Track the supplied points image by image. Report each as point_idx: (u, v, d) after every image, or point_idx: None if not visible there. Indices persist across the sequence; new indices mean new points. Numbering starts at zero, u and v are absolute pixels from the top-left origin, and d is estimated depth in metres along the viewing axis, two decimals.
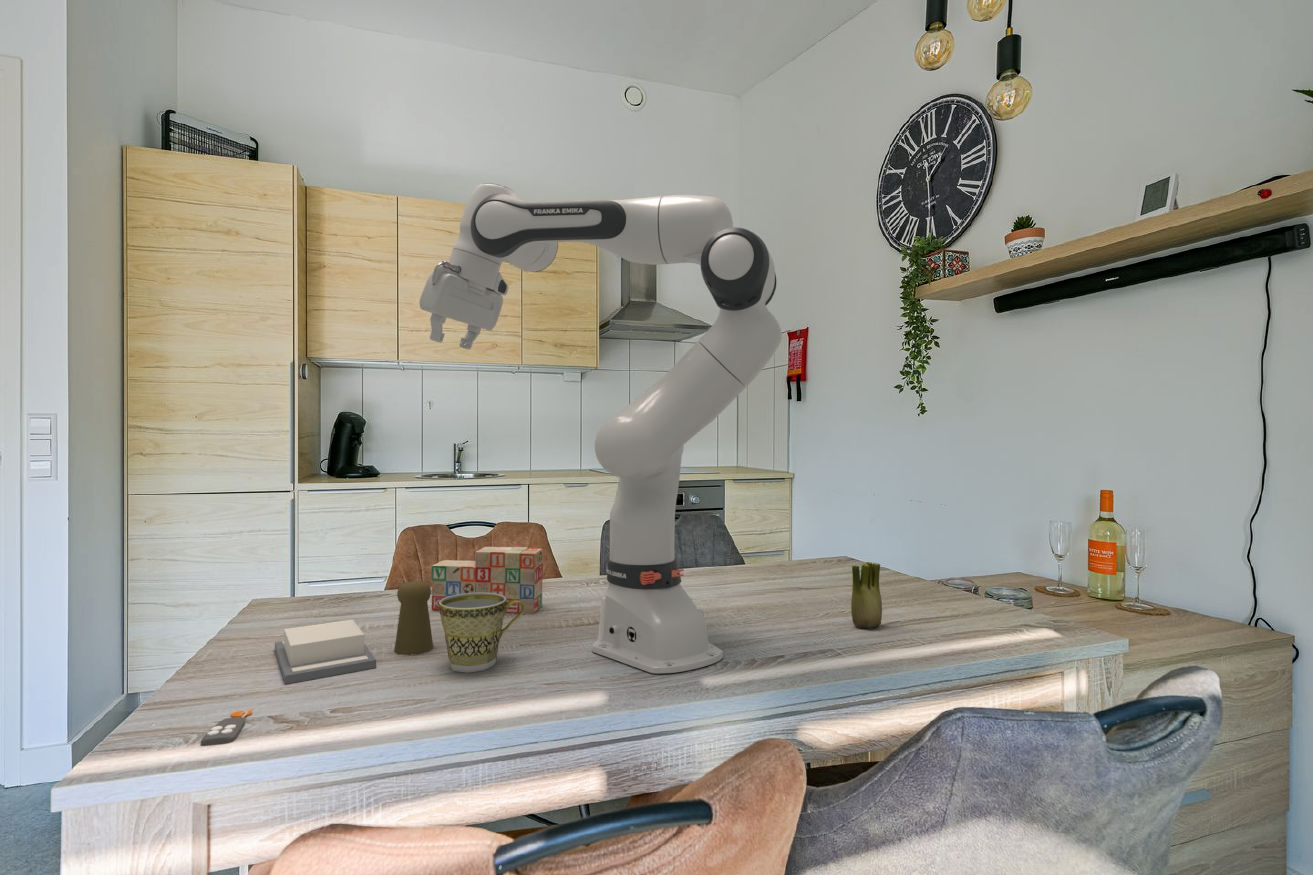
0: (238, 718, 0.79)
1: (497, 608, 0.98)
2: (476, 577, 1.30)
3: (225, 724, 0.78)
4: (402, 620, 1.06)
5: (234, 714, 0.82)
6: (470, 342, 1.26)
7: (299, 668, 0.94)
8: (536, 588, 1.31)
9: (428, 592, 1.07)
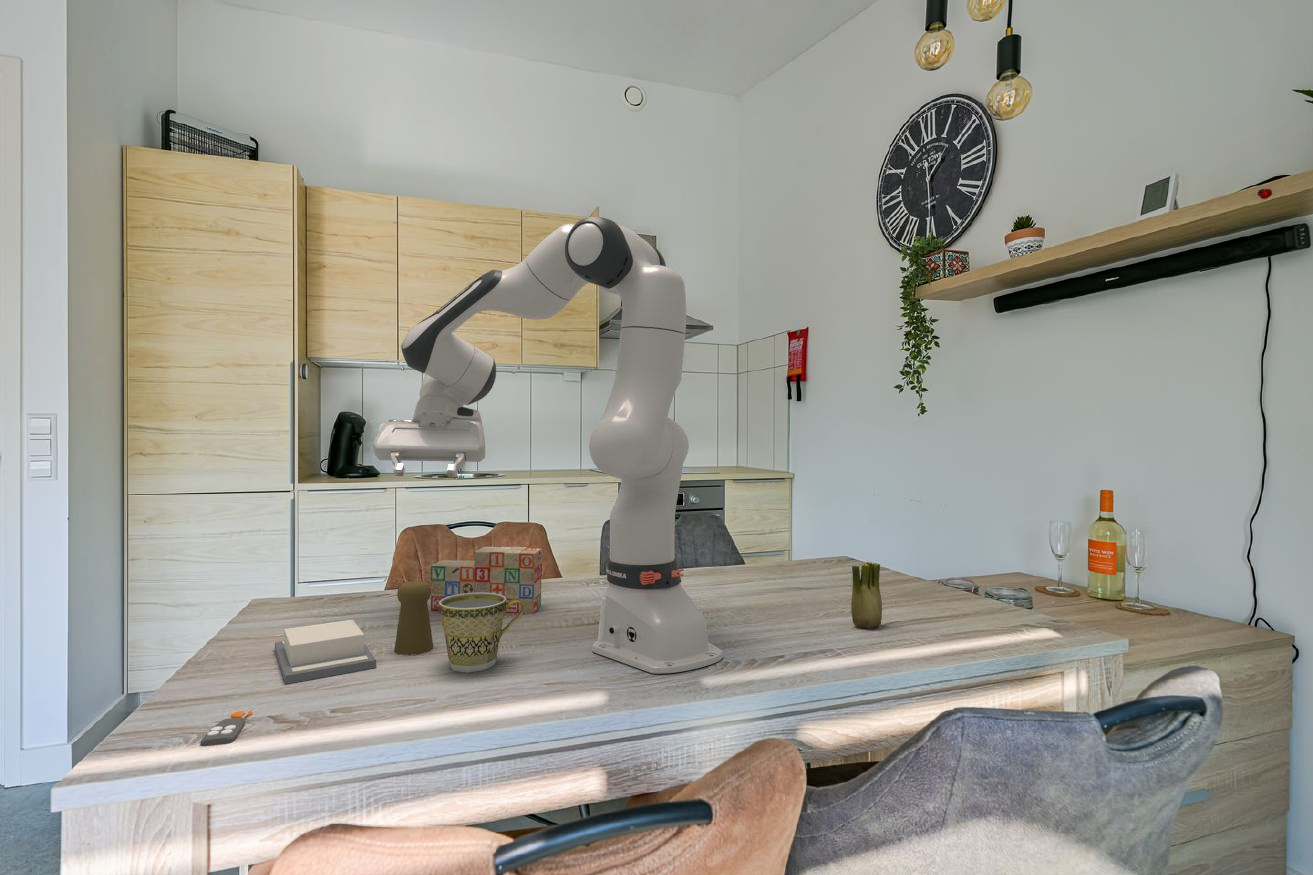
0: (238, 718, 0.79)
1: (497, 608, 0.98)
2: (475, 577, 1.30)
3: (225, 724, 0.77)
4: (402, 620, 1.06)
5: (234, 714, 0.82)
6: (451, 465, 1.21)
7: (299, 668, 0.94)
8: (535, 588, 1.31)
9: (428, 592, 1.07)
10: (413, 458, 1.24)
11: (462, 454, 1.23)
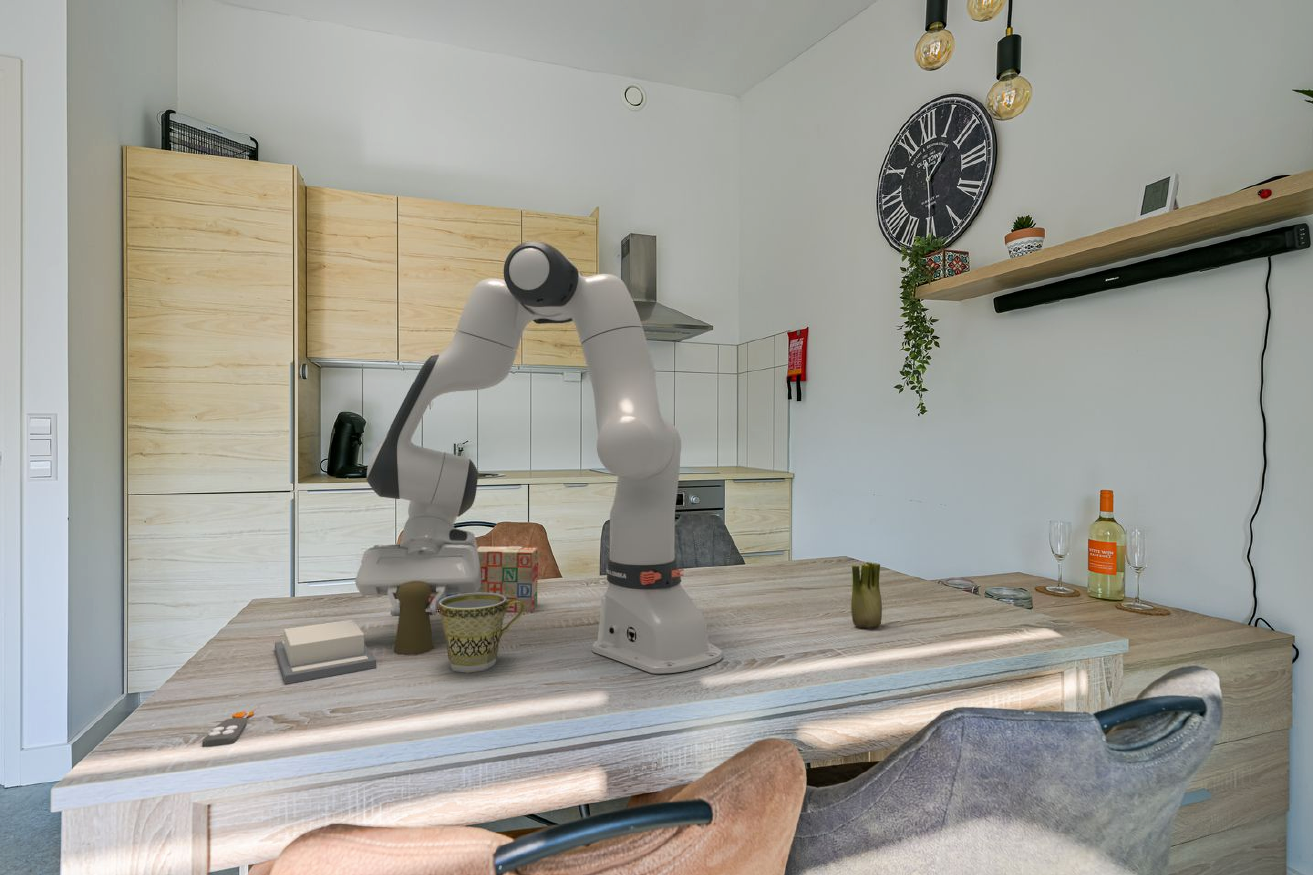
0: (240, 719, 0.79)
1: (497, 608, 0.98)
2: None
3: (227, 725, 0.77)
4: (402, 620, 1.06)
5: (236, 715, 0.81)
6: (430, 602, 1.08)
7: (299, 668, 0.94)
8: (533, 587, 1.32)
9: (428, 592, 1.07)
10: None
11: (442, 587, 1.10)
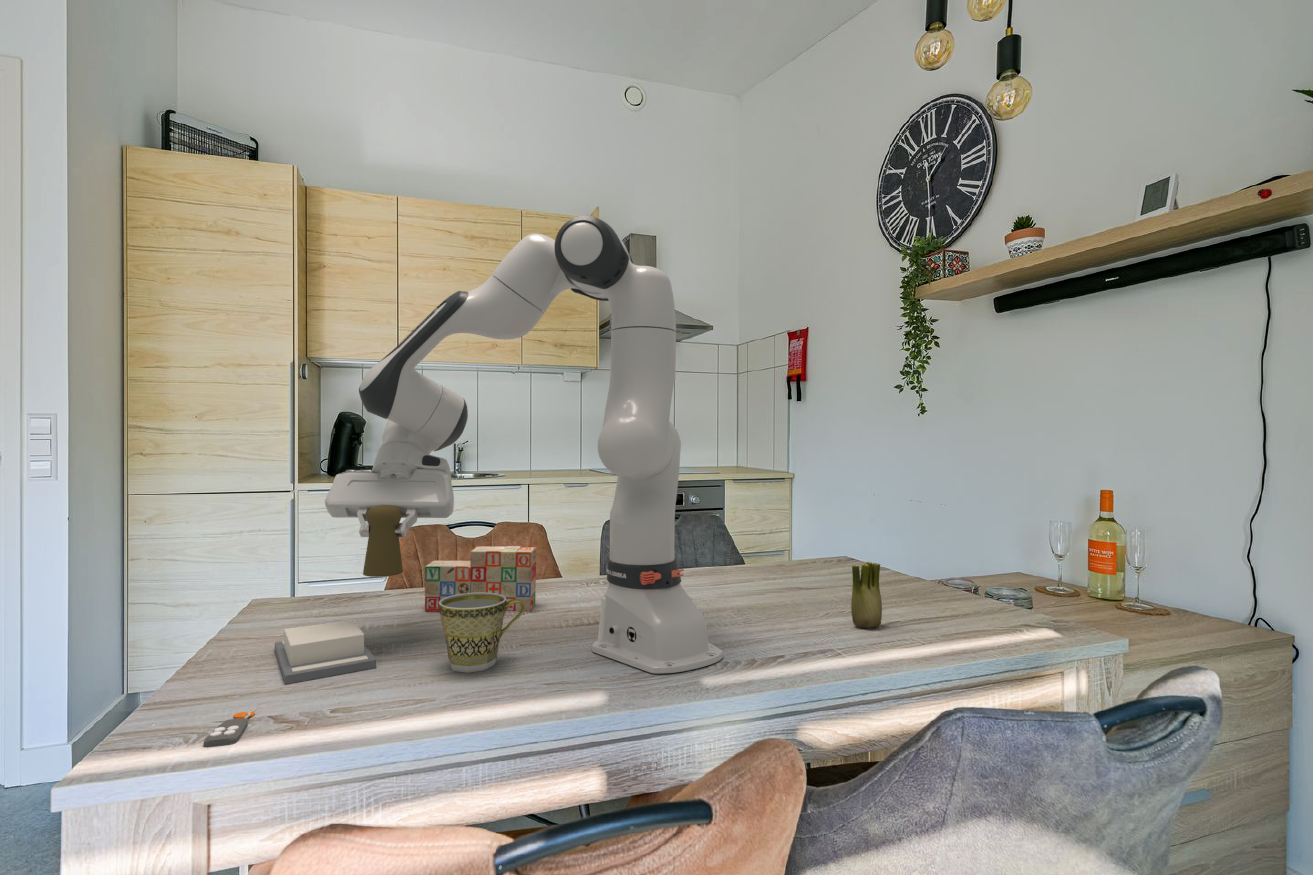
0: (241, 719, 0.79)
1: (497, 608, 0.98)
2: (471, 576, 1.31)
3: (228, 725, 0.77)
4: (370, 542, 1.04)
5: (237, 715, 0.81)
6: (400, 524, 1.07)
7: (299, 668, 0.94)
8: (532, 586, 1.32)
9: (397, 515, 1.06)
10: None
11: (413, 510, 1.08)
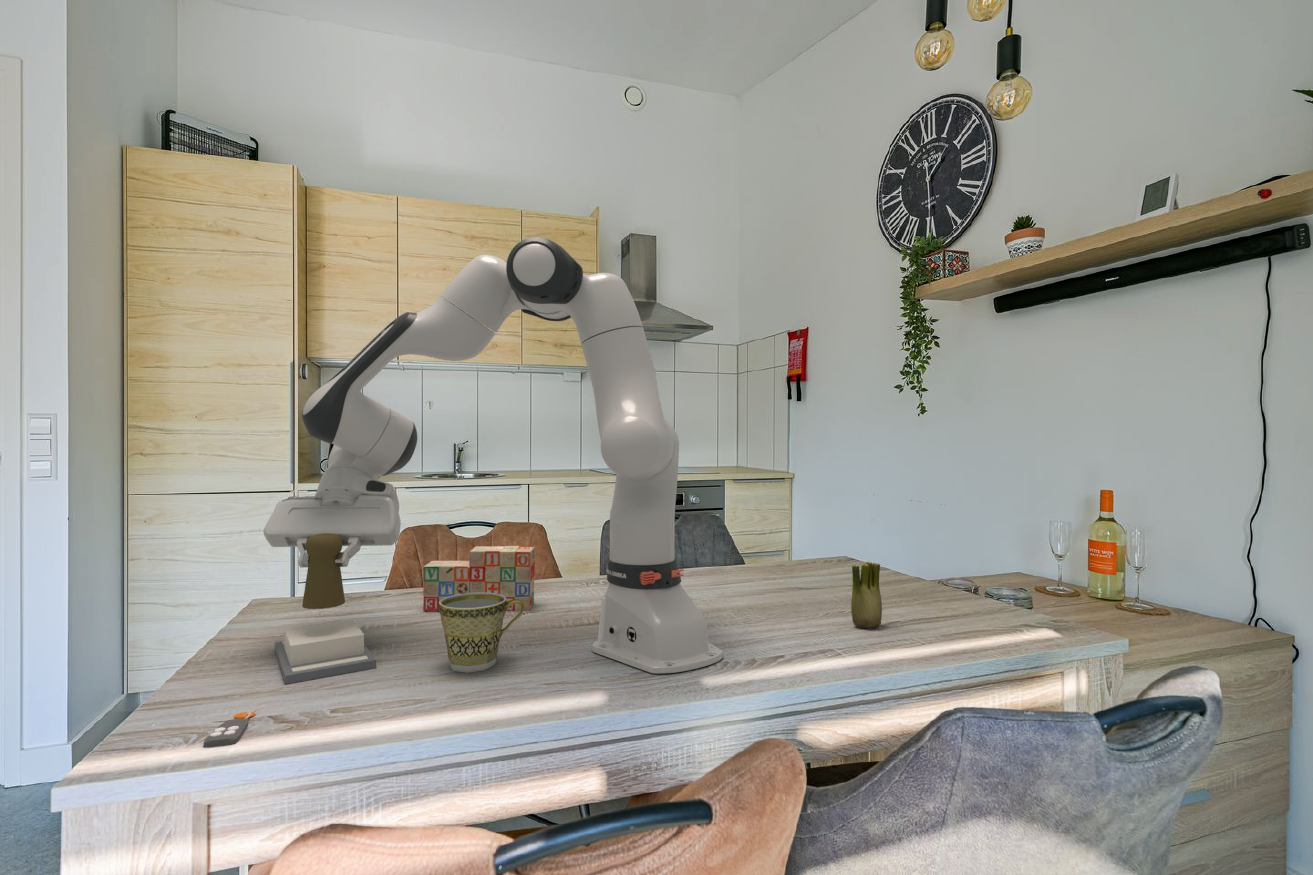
0: (241, 719, 0.79)
1: (497, 608, 0.98)
2: (470, 576, 1.31)
3: (228, 725, 0.77)
4: (309, 573, 1.01)
5: (237, 715, 0.81)
6: (341, 553, 1.03)
7: (299, 668, 0.94)
8: (531, 586, 1.33)
9: (337, 544, 1.02)
10: None
11: (355, 539, 1.05)
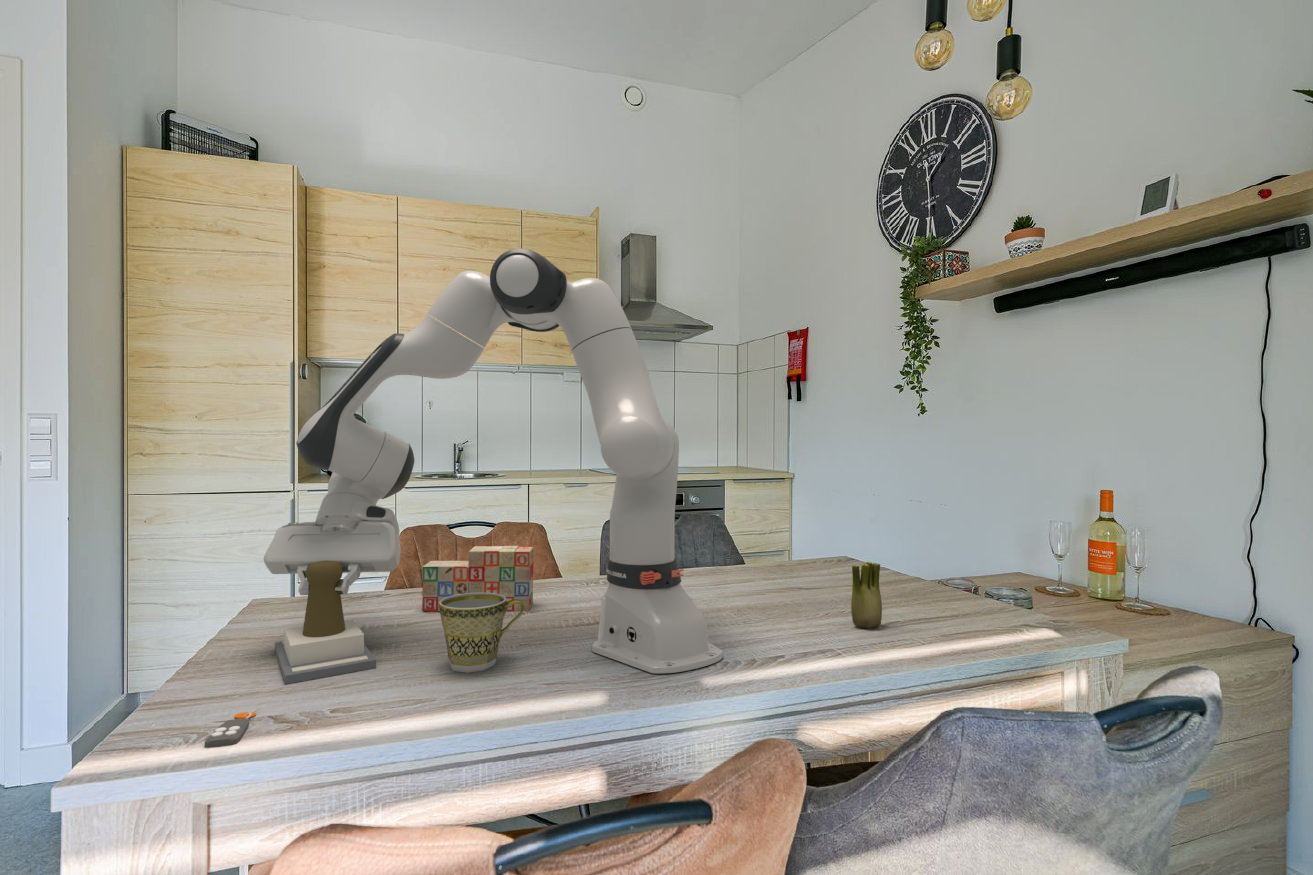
0: (242, 719, 0.79)
1: (497, 608, 0.98)
2: (469, 576, 1.31)
3: (229, 725, 0.77)
4: (309, 601, 1.01)
5: (238, 715, 0.81)
6: (341, 580, 1.03)
7: (299, 668, 0.94)
8: (530, 585, 1.33)
9: (338, 572, 1.02)
10: None
11: (355, 566, 1.05)
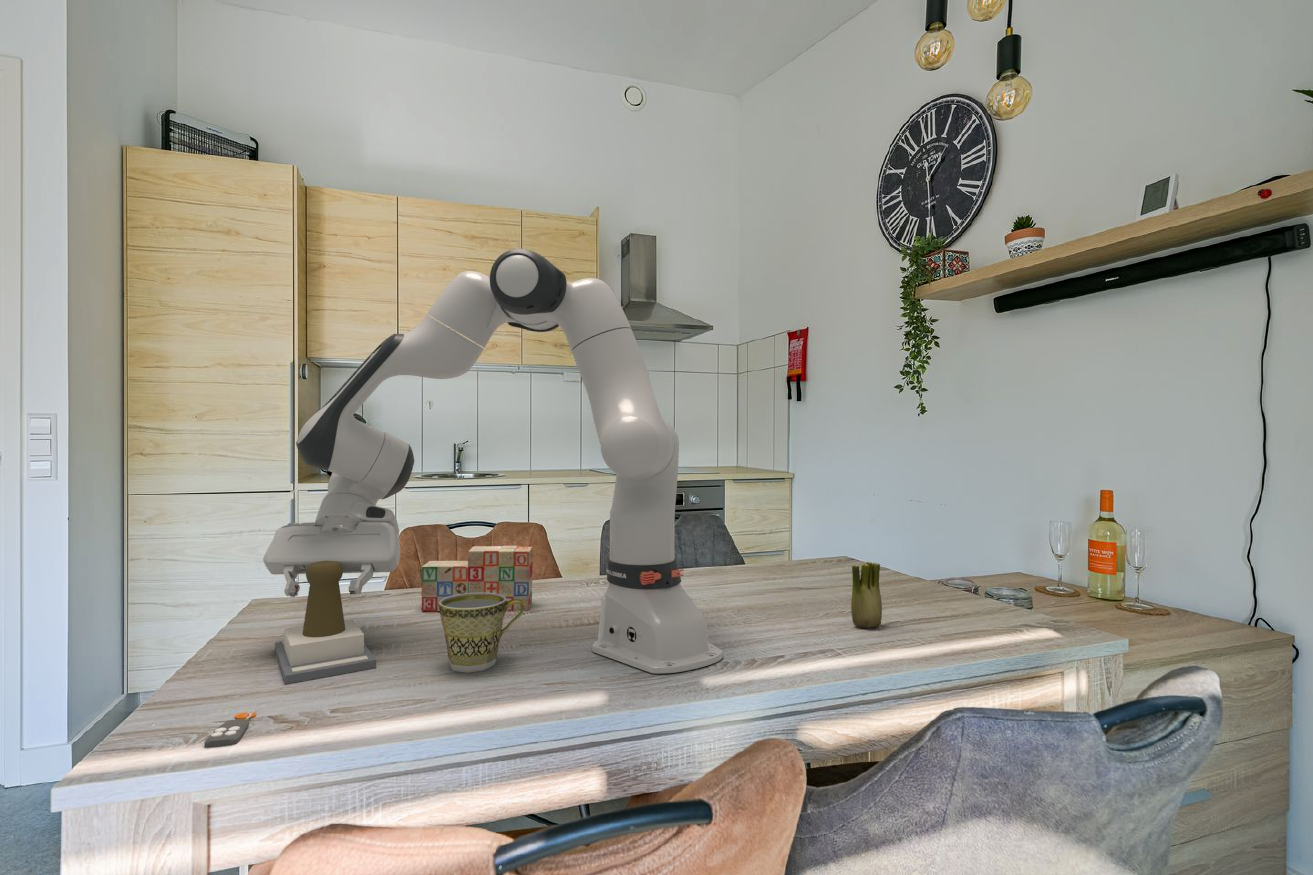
0: (242, 720, 0.79)
1: (497, 608, 0.98)
2: (469, 576, 1.31)
3: (229, 726, 0.77)
4: (309, 601, 1.01)
5: (238, 716, 0.81)
6: (354, 581, 1.03)
7: (299, 668, 0.94)
8: (529, 585, 1.33)
9: (338, 572, 1.02)
10: None
11: (368, 566, 1.05)
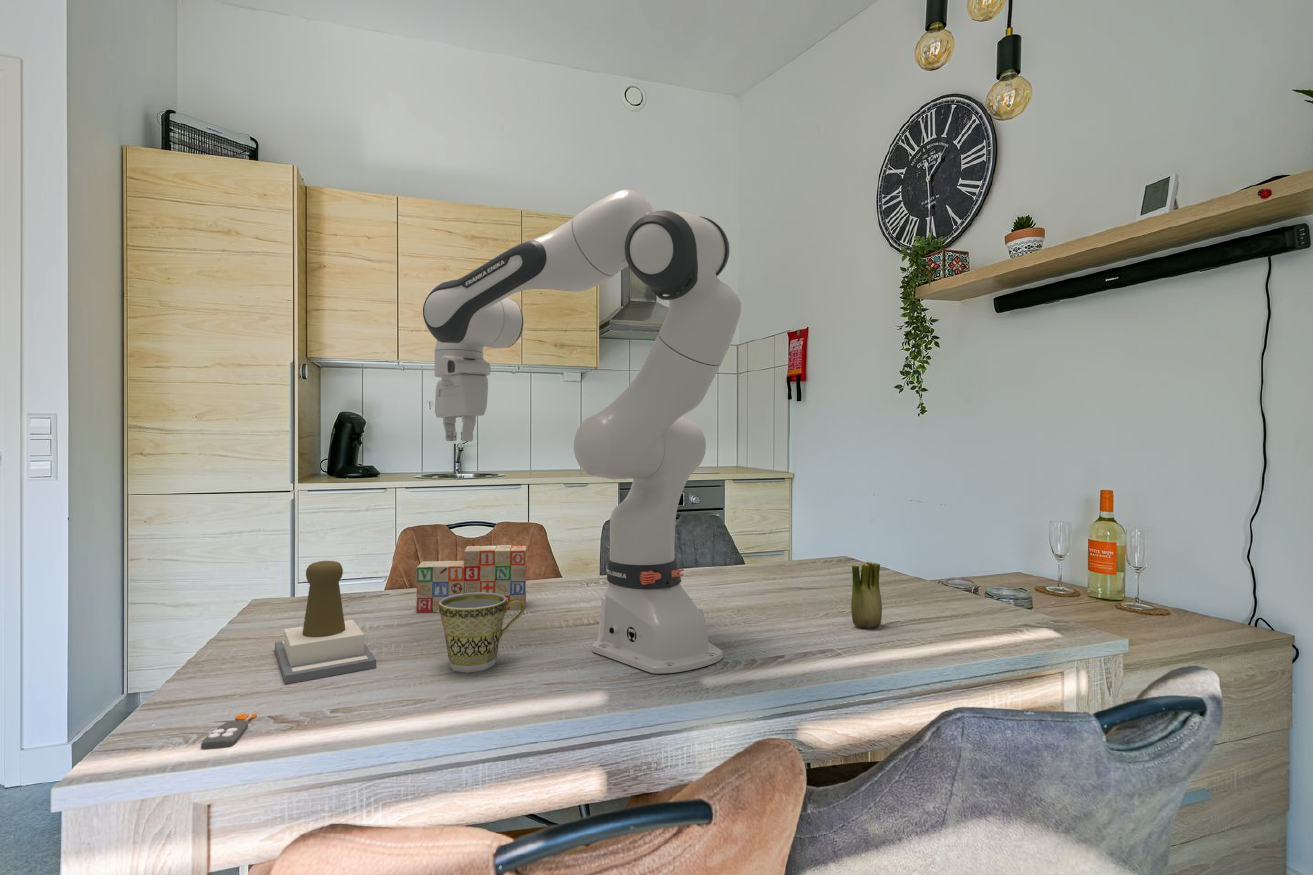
0: (241, 721, 0.78)
1: (497, 608, 0.98)
2: (465, 576, 1.31)
3: (227, 727, 0.77)
4: (309, 601, 1.01)
5: (239, 717, 0.81)
6: (461, 433, 1.19)
7: (299, 668, 0.94)
8: (525, 584, 1.34)
9: (338, 572, 1.02)
10: (459, 415, 1.27)
11: (464, 418, 1.18)
